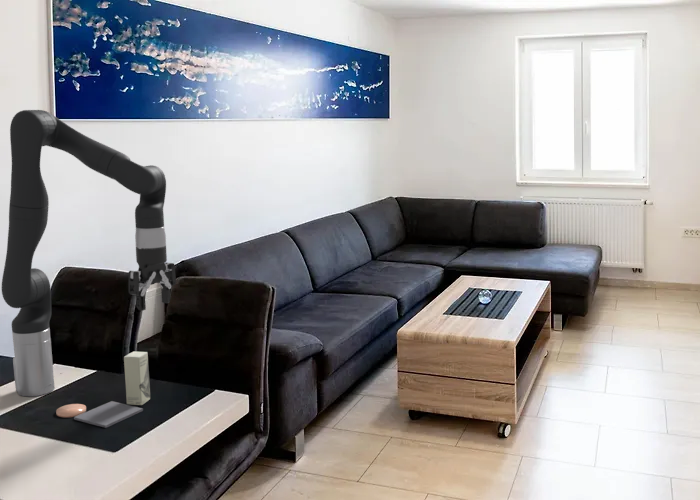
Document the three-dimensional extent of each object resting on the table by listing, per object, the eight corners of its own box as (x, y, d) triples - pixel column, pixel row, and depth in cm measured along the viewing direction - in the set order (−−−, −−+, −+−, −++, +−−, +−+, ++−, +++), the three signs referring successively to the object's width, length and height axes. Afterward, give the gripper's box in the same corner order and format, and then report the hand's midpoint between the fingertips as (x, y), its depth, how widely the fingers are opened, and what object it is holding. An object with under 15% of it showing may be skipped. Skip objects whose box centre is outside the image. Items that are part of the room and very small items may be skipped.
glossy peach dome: (50, 414, 186) (50, 411, 186) (73, 405, 192) (73, 402, 192) (69, 419, 182) (69, 416, 182) (92, 409, 188) (92, 406, 188)
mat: (74, 419, 182) (73, 417, 182) (111, 403, 193) (111, 401, 192) (106, 427, 177) (105, 425, 177) (143, 410, 187) (142, 408, 187)
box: (141, 406, 190) (138, 357, 188) (126, 405, 191) (122, 356, 189) (151, 398, 195) (148, 351, 193) (135, 397, 196) (132, 350, 194)
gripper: (160, 239, 198) (163, 299, 201) (118, 247, 186) (122, 310, 189) (181, 241, 195) (184, 302, 197) (140, 250, 183) (143, 314, 185)
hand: (154, 306), depth 193 cm, fingers open, 8 cm apart
